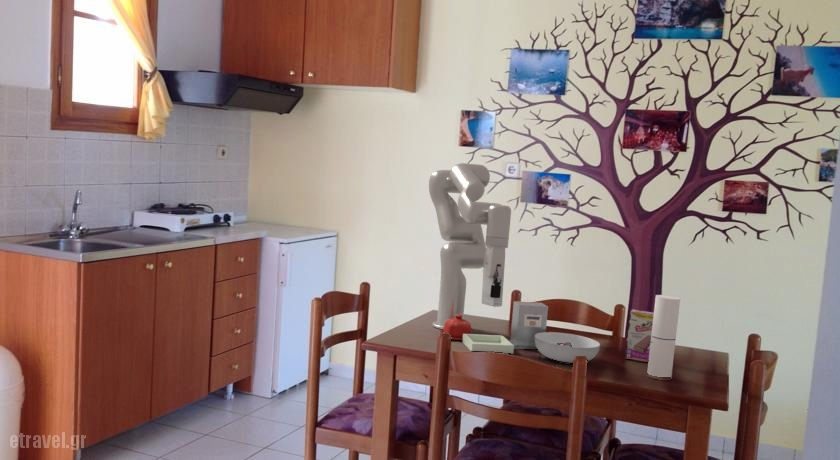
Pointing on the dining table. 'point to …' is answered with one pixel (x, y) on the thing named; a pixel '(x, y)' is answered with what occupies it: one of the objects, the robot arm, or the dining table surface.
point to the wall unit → (527, 323)
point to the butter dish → (457, 327)
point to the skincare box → (487, 290)
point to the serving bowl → (580, 346)
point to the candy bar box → (639, 334)
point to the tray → (487, 343)
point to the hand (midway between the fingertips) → (492, 295)
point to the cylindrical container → (663, 336)
